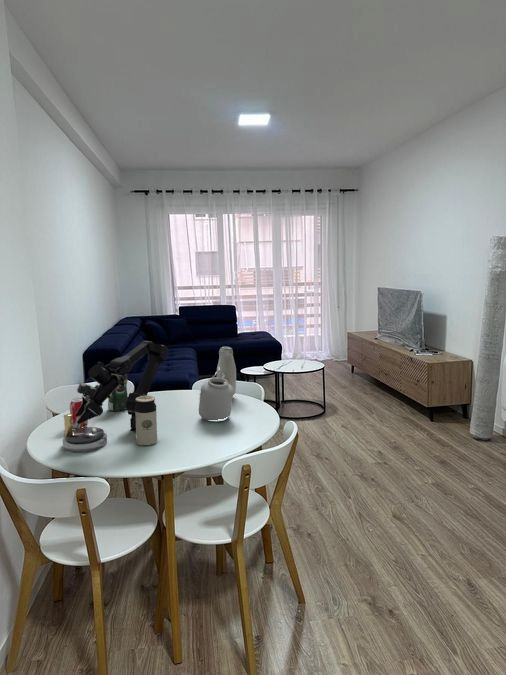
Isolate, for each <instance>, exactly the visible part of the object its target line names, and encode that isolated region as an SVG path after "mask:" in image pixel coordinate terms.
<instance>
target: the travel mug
mask: <svg viewBox="0 0 506 675" xmlns="http://www.w3.org/2000/svg"><path fill="white" fill-rule="evenodd" d="M155 400H156V396H153V395H147V396H140V397H137V398H136V401H137V404H136V406H135V415H136V431H135V441H136V442H135V443H136V444H137V445H139V446H142V445H148V446H152V445H154V444H156V443H157V442H158V425H157V424H158V422H157V421H158V420H157V419H158V418H157V417H158V416H157V404H156V402H155ZM151 444H152V445H151Z"/></svg>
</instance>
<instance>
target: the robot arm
mask: <svg viewBox="0 0 506 675" xmlns="http://www.w3.org/2000/svg"><path fill="white" fill-rule="evenodd" d="M169 353H170V350H169V348H168V346H167V345H166V344H165V345H164V344H158V343H155V342H153V341H152V340H150V341H149V340H143V341H141V342H140V343H139V344H138V345H137V346H136V347H134V348H133V349H132V350H130V351H128V352H127V353H126V354H125V355H123V356H120V357H116V358H114V359H112V360H110V362H108V364H106V365H105V364H104V363H103V362H101V361H97V362H96V364H95V365H92V367H91V368H89V369H88V372H87V374H88V377H89V378H90V379H92V380H93V381H95V382H96V383H97V384H96V385H95V386H92V385H89V384H86V383H83V382H79V384H78V386H77V389H76V392H77V393H79V394H81V395H82V396H81V398H82V404H81V406H80V407H79V409H78V411H77V413H76V414H75V416H76V417H78V416H80V415H81V416H80V418H79V419H78V421H77V423H78V424H80V423H82V422H85V421H87V420H88V421H89V420H91V419H93V418H96V417H101V415H102V414H103V413H104V409H103V403H104V402H105V401H106V400H107V399H108V398H110V395H111V393H112V392H113V391H114V390H115V389H116V388H117V387H118V386H119V385H121V386H123V387H124V379H123V378H118V377H117V376H116V375H122V376H124V375H126V374H127V375H128V373H129V372H130V371H131V370H132V367H133V365H134V364H135V363H136V362H138V361H139V360H140V359H141V358H143V357H144V356H145V355H147V358H148V363H147V365H146V367H145V369H144V372H143V374H142V376H141V378H140V381H139V384H138V385H137V388H136V390H135V391H134V392H130V393H129V394H128V398H127V400H126V405H125V406H126V409H125V410H126V411H127V412H126V413H128V415H130V419H129V420H130V423H129V424H130V429H129V430H130V431H134V432H136V415H135V406H136V404H137V401H136V398H137V397H140V396H148V393H149V392H150V389H151V387H152V384H153V382H154V379H155V377H156V374H157V372H158V370H159V367H160V365H162V364H163V363H164V362H166V360H167V358H168V357H169ZM111 374H115V375H111Z"/></svg>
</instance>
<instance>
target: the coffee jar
mask: <svg viewBox="0 0 506 675" xmlns="http://www.w3.org/2000/svg"><path fill="white" fill-rule="evenodd" d="M111 375H115V374H111ZM116 376H117V377H118V378H123V379H124V387H123V386H121V385H119V386H118V387H117V388H116V389H115V390H114V391H113V392H112V393H111V395H110V398H107V399H108V400H107V401H108V402H107V408H108V410H109V411H110V412H120V410H121V411H125V410H127V409H126V406H125V405H126V400H127V398H128V396H129V394H128V389H127V385H128V380H129V379H128V373H127V374H126V375H124V376H122V375H116Z"/></svg>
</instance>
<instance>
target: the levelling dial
mask: <svg viewBox="0 0 506 675" xmlns="http://www.w3.org/2000/svg"><path fill="white" fill-rule="evenodd" d="M63 420H64V421H63V423H64V438H65V440H66V442H68V443H72V444H85V443H91V442H95V441H97V440H100V439H101V438H103V437H104V433H105V430H104V429H103V428H100V427H95V426H93V427H92V426H88V427H87V426H85V427H83V428H74V427H73V415H72V414H70V413H68V414H67V413H66V414H64V415H63Z"/></svg>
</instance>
